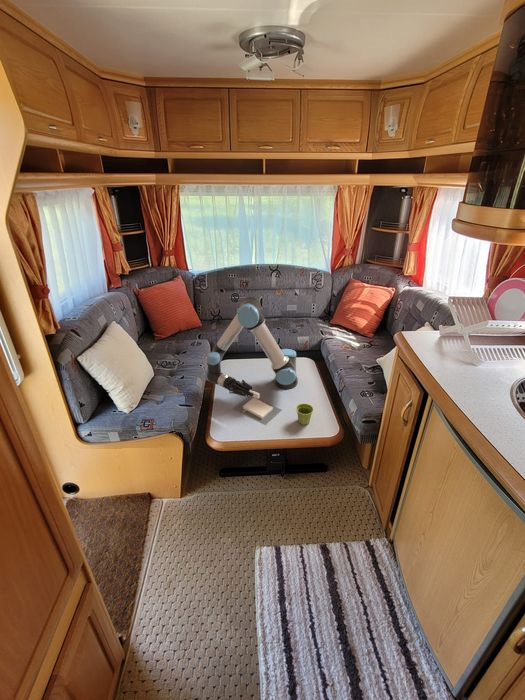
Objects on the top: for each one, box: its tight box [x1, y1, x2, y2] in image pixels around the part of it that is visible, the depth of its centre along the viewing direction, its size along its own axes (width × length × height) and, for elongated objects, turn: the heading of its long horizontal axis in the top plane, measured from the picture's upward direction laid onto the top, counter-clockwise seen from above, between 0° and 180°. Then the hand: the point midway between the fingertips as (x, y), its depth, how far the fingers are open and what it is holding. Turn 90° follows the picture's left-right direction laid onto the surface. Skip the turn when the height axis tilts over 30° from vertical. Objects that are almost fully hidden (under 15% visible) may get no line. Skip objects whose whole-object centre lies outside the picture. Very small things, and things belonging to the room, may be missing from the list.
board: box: [231, 395, 283, 426], centre depth 197 cm, size 24×16×2 cm, turn 53°
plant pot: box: [295, 403, 314, 426], centre depth 187 cm, size 9×9×9 cm
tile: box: [243, 397, 273, 419], centre depth 196 cm, size 2×10×14 cm
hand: (258, 396), depth 192 cm, fingers closed
